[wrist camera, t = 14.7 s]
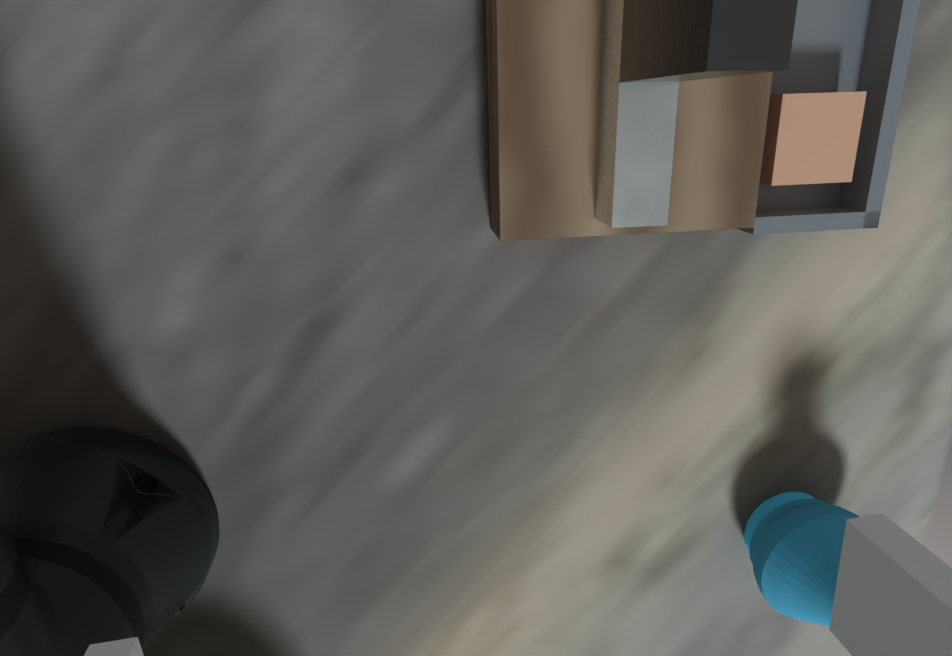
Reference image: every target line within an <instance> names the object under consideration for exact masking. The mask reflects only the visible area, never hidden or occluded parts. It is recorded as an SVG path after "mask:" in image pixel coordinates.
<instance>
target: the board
mask: <svg viewBox="0 0 952 656" xmlns="http://www.w3.org/2000/svg"><path fill="white" fill-rule="evenodd" d="M603 13H604V0H486V34H487V81H488V128H489V175H490V222H491V229H492V231H493V232H494V233H495V235H496V236H497V237H498V238H499V240H500V241H508V240H527V239H546V238H565V237H584V236H603V235H622V234H641V233H660V232H679V231H698V230H718V229H737V228H754V223H755V215H756V206H757V198H758V190H759V182H760V173H761V165H762V157H763V149H764V141H765V132H766V124H767V116H768V108H769V99H770V91H771V83H772V75H773V72H765V73H756V74H747V75H737V76H728V77H719V78H709V79H700V80H691V81H681V82H679V90H678V102H677V114H676V126H675V138H674V150H673V162H672V174H671V186H670V199H669V211H668V223H667V225H666V226H642V227H619V228H611V227H609V226H608V225H606V224H604V223H602V222H600V221H598V220H597V219H595V197H596V174H597V151H598V128H599V105H600V82H601V59H602V36H603Z"/></svg>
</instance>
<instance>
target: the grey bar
mask: <svg viewBox="0 0 952 656" xmlns="http://www.w3.org/2000/svg"><path fill="white" fill-rule="evenodd" d="M797 4H798V0H604V13H603V36H602V59H601V82H600V105H599V128H598V151H597V174H596V197H595V219H597V220H598V221H600V222H602V223H604V224H606V225H608V226H609V227H611V228H619V227H642V226H666V225H667V223H668V211H669V199H670V186H671V174H672V162H673V150H674V138H675V126H676V114H677V102H678V90H679V82H681V81H691V80H700V79H709V78H719V77H728V76H737V75H747V74H756V73H765V72H775V71H784V70H788V69H789V62H790V55H791V47H792V40H793V33H794V26H795V18H796V11H797Z"/></svg>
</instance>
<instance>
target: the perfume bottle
mask: <svg viewBox="0 0 952 656" xmlns="http://www.w3.org/2000/svg"><path fill="white" fill-rule="evenodd" d="M858 517H859V516H858V515H856V514H854V513H852V512H850V511H848V510H846V509H843V508H841V507H838V506H834V505H831V504H828V503H826V502H825V501H822V500H818V499H815V498H814V497H812V496H811V495H809V494H806V493H803V492H794V491H792V492H785V493H781V494H778V495H775V496H773V497H771V498H769V499H767V500H766V501H764V502H763V503H762V504H761V505H759V506H758V507H757V508H756V509H755V511H754V512H753V513H752V514H751V516H750V518H749V519H748V521H747V524H746V527H745V532H744V539H745V544H746V546H747V548H748V550H749V553H750V559H751V561H752V564H753V570H754V575H755V578H756V581H757V584H758V586H759V589H760V591H761V593H762V594H763V596H764V598H765V599H766V601H767V602H768V603H769V605H770V606H771V607H772V608H773V609H775V610H776V611H777V612H779V613H781V614H783V615H785V616H788V617H791V618H795V619H799V620H802V621H807V622H811V623H817V624H821V625H824V626H828V627H830V621H831V615H832V608H833V602H834V596H835V589H836V583H837V577H838V570H839V564H840V557H841V551H842V545H843V538H844V532H845V526H846V519H852V518H858Z"/></svg>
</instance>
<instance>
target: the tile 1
mask: <svg viewBox="0 0 952 656" xmlns="http://www.w3.org/2000/svg"><path fill="white" fill-rule="evenodd" d="M866 94H867V91H862V92H830V93H798V94H772V95H770V99H769V108H768V116H767V124H766V132H765V141H764V149H763V157H762V165H761V173H760V182H759V183H760V184H765V185H770V186H777V185H799V184H820V183H841V182H852V177H853V171H854V165H855V159H856V153H857V147H858V141H859V135H860V129H861V123H862V117H863V112H864V106H865V100H866Z"/></svg>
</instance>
